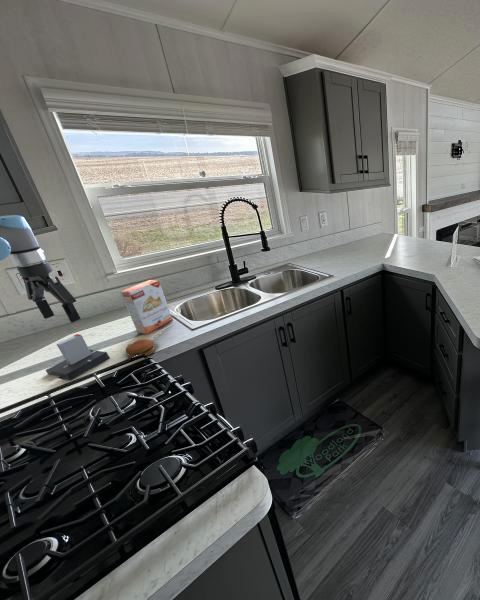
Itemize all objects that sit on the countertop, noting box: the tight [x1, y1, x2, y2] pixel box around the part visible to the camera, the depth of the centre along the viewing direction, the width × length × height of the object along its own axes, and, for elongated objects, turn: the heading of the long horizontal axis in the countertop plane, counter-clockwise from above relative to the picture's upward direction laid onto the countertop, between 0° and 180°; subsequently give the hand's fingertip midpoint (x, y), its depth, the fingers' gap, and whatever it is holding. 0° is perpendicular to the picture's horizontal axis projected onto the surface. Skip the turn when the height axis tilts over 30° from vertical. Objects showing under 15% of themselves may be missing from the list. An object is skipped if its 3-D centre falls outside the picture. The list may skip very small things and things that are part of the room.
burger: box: [125, 338, 157, 359], centre depth 132 cm, size 10×9×5 cm
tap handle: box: [56, 333, 91, 365], centre depth 123 cm, size 7×2×9 cm, turn 165°
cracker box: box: [119, 279, 174, 335], centre depth 149 cm, size 14×6×21 cm, turn 165°
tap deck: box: [45, 348, 111, 382], centre depth 125 cm, size 14×11×3 cm
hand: (62, 318), depth 118 cm, fingers open, 13 cm apart
